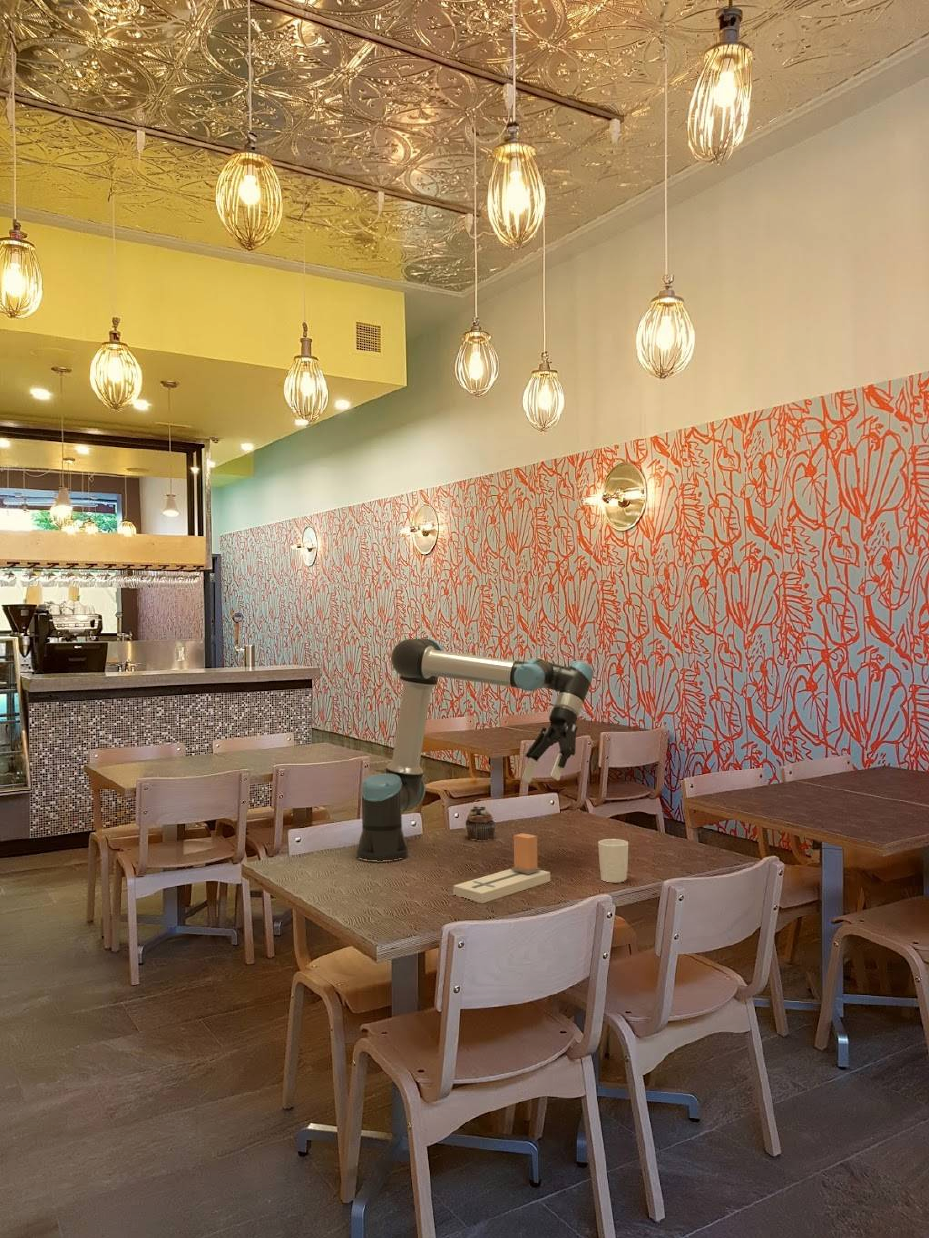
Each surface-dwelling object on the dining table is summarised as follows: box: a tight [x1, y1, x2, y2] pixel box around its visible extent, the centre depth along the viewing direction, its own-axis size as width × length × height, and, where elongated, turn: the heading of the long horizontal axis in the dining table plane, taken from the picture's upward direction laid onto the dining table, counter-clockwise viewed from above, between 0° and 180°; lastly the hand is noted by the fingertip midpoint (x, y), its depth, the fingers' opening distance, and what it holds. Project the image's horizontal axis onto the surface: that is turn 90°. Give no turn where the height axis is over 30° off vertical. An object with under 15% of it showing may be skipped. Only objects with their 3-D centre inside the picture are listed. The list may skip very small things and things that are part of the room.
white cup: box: [597, 838, 629, 883], centre depth 237 cm, size 8×8×10 cm
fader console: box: [452, 868, 551, 904], centre depth 231 cm, size 26×10×2 cm, turn 135°
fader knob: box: [510, 832, 542, 874], centre depth 238 cm, size 5×6×9 cm
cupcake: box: [465, 805, 497, 840], centre depth 287 cm, size 10×10×10 cm
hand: (539, 779), depth 246 cm, fingers open, 13 cm apart
